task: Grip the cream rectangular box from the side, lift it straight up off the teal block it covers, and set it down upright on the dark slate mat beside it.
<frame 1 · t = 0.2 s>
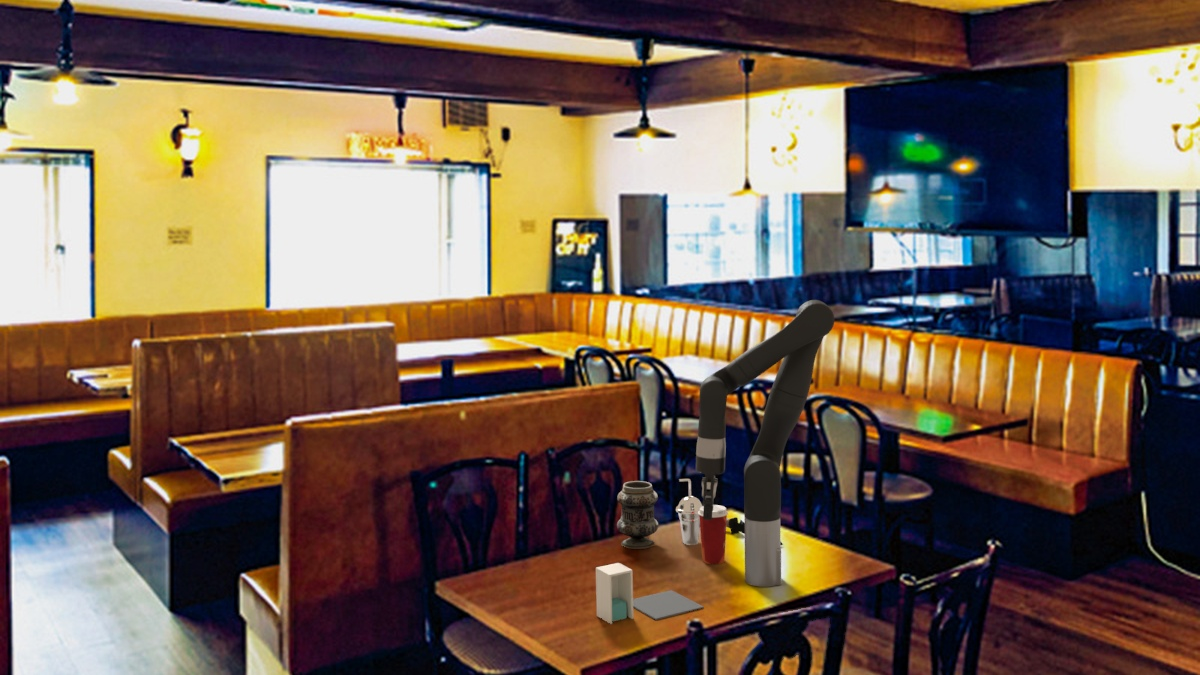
hand: (708, 515, 281), 18 cm above the table, tool pointing down, fingers open, 8 cm apart
mat: (663, 605, 266), on the table
drinking straw: (689, 543, 315), on the table
cream rectangular box: (615, 617, 259), on the table
block: (614, 609, 259), in the cream rectangular box
apothecary jar: (638, 545, 315), on the table
coffee cup: (713, 561, 299), on the table
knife: (742, 536, 321), on the table
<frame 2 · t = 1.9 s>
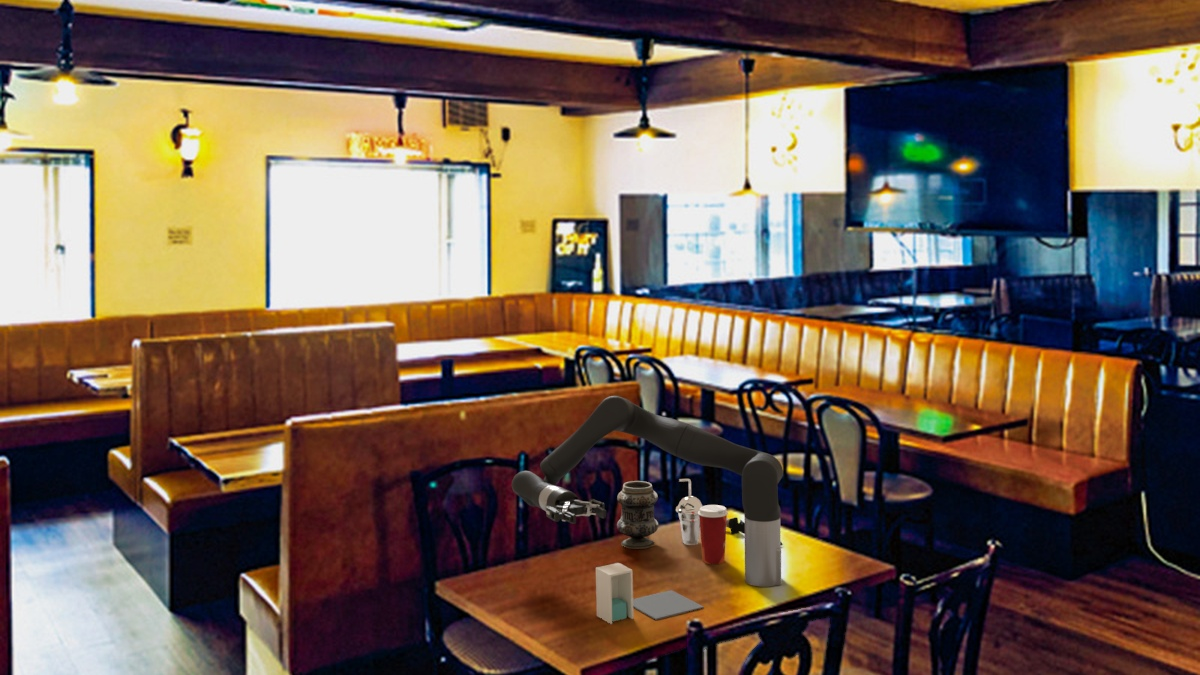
hand: (589, 517, 266), 22 cm above the table, tool horizontal, fingers open, 8 cm apart
nothing on the table moved.
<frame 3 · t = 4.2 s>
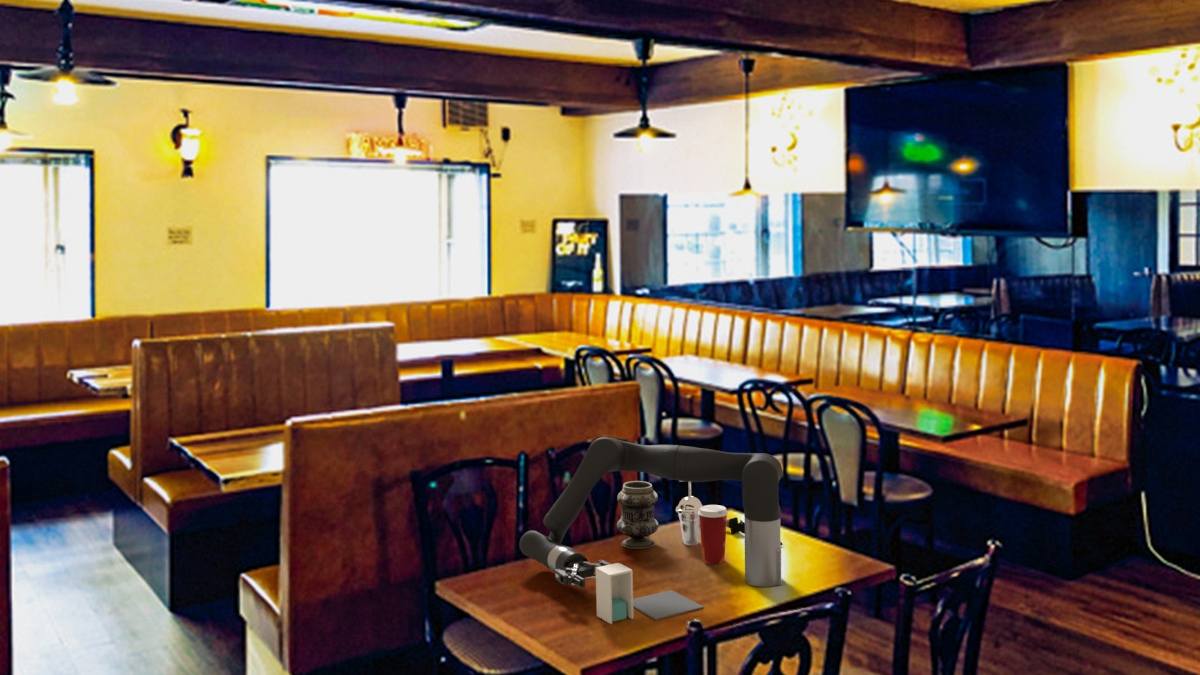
hand: (599, 580, 265), 7 cm above the table, tool horizontal, fingers open, 8 cm apart
nothing on the table moved.
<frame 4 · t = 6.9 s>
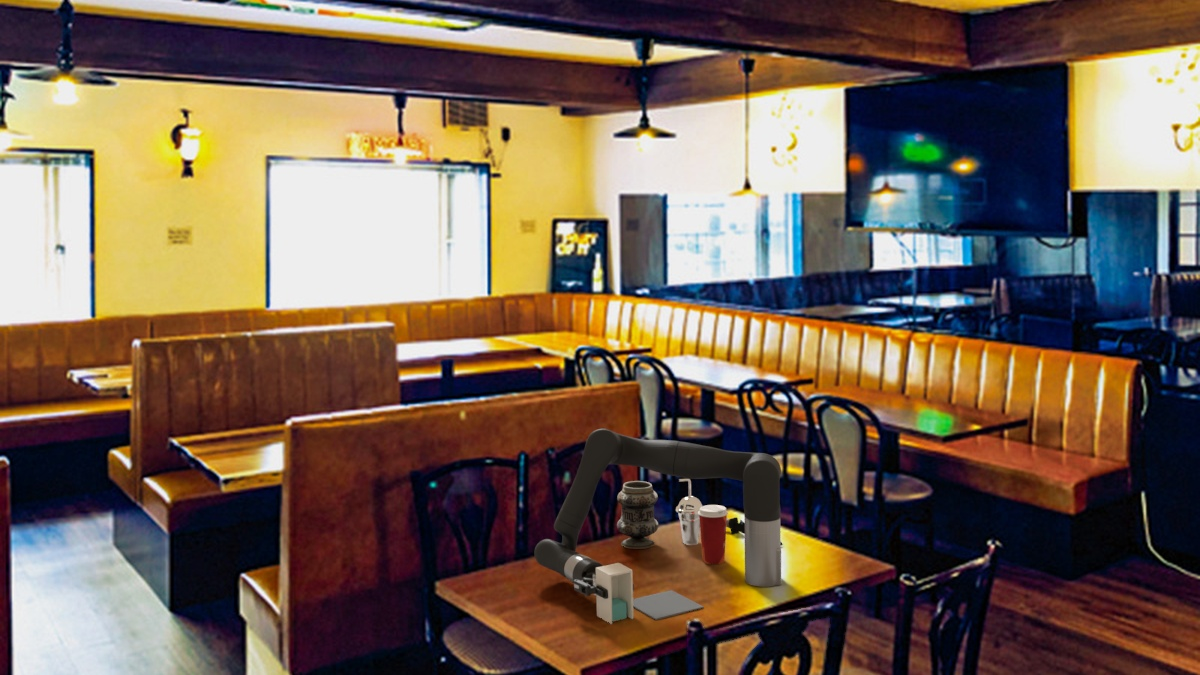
hand: (619, 591, 256), 7 cm above the table, tool horizontal, fingers closed on cream rectangular box, 6 cm apart
cream rectangular box: (615, 617, 259), on the table, touching gripper
everything else where it was.
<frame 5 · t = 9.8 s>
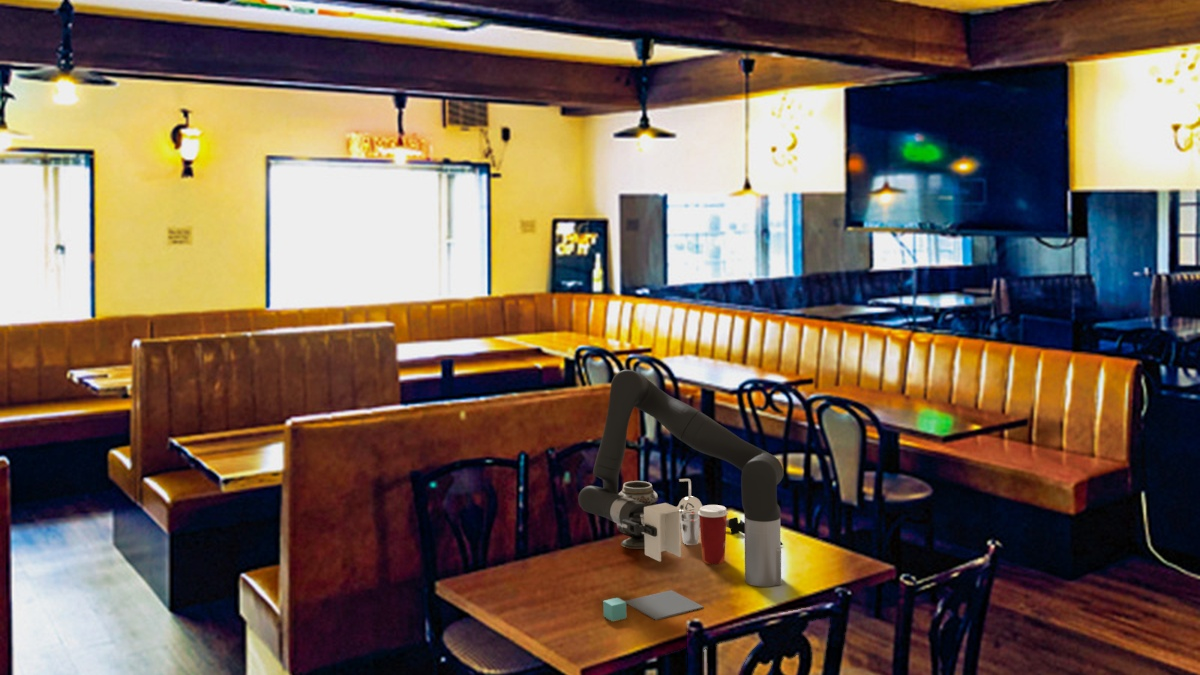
hand: (667, 529, 261), 20 cm above the table, tool horizontal, fingers closed on cream rectangular box, 6 cm apart
cream rectangular box: (662, 555, 264), point 13 cm above the table, touching gripper
everything else where it was.
when the fingers open (9 cm above the table, at t = 12.9 s): cream rectangular box drops 1 cm, resting on mat.
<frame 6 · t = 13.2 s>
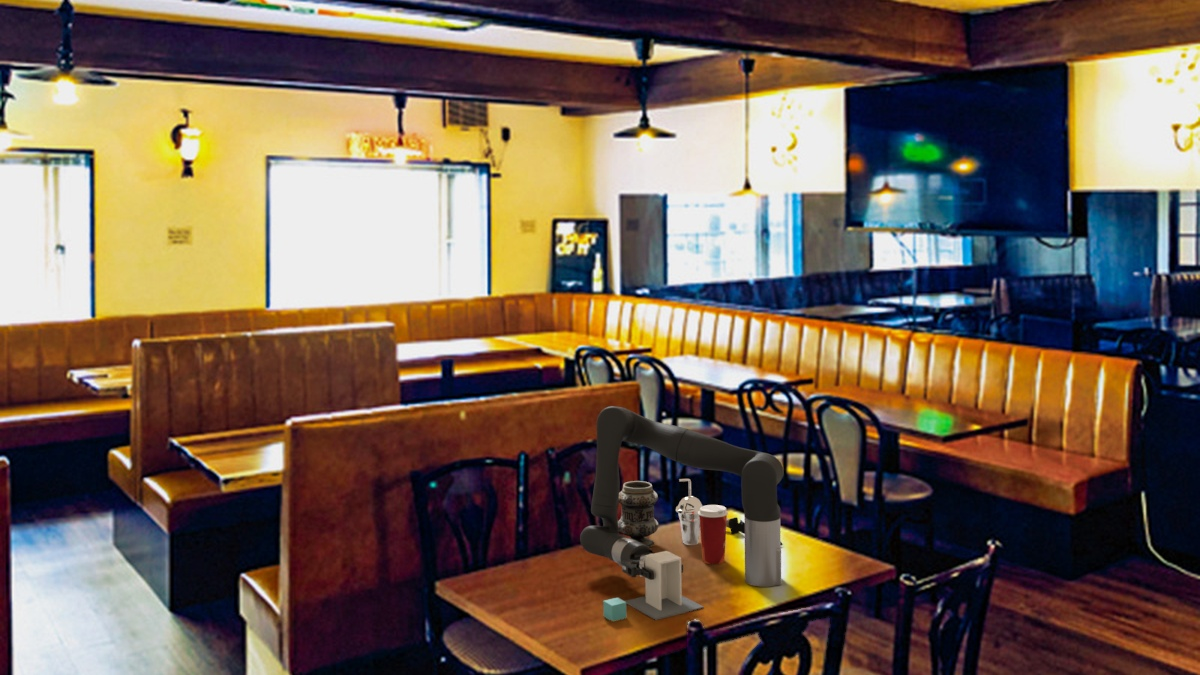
hand: (667, 572, 263), 9 cm above the table, tool horizontal, fingers open, 8 cm apart
cream rectangular box: (663, 603, 266), resting on mat
everything else where it was.
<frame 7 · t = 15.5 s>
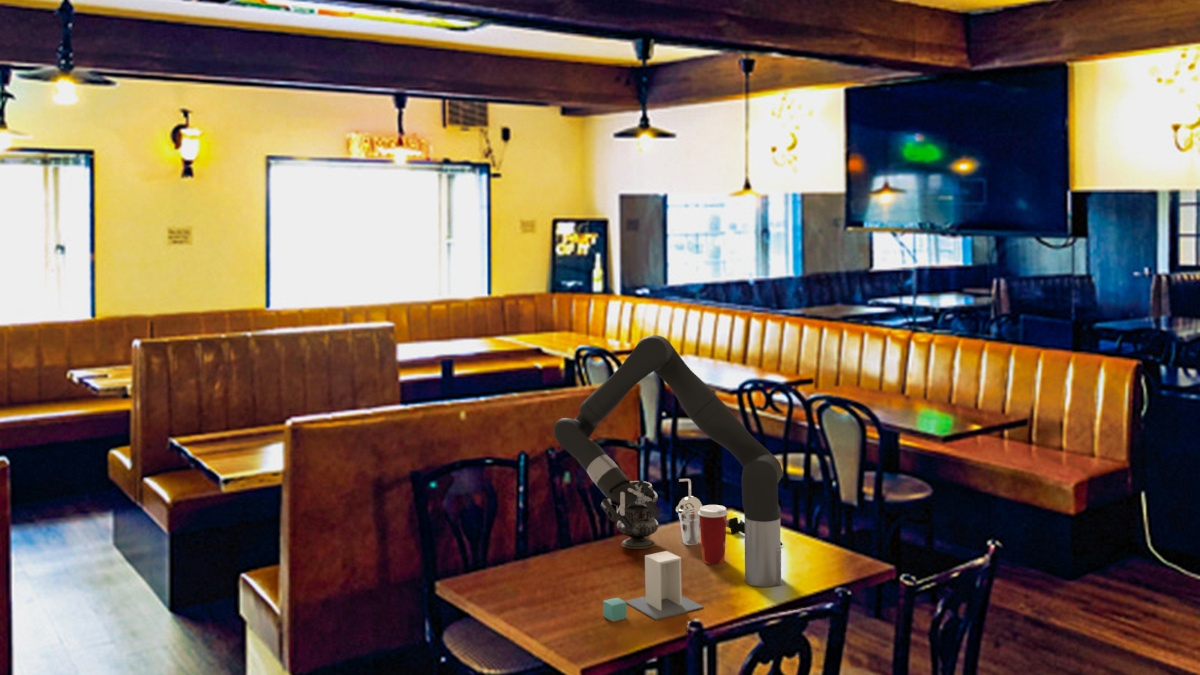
hand: (645, 521, 277), 17 cm above the table, tool tilted 50°, fingers open, 8 cm apart
nothing on the table moved.
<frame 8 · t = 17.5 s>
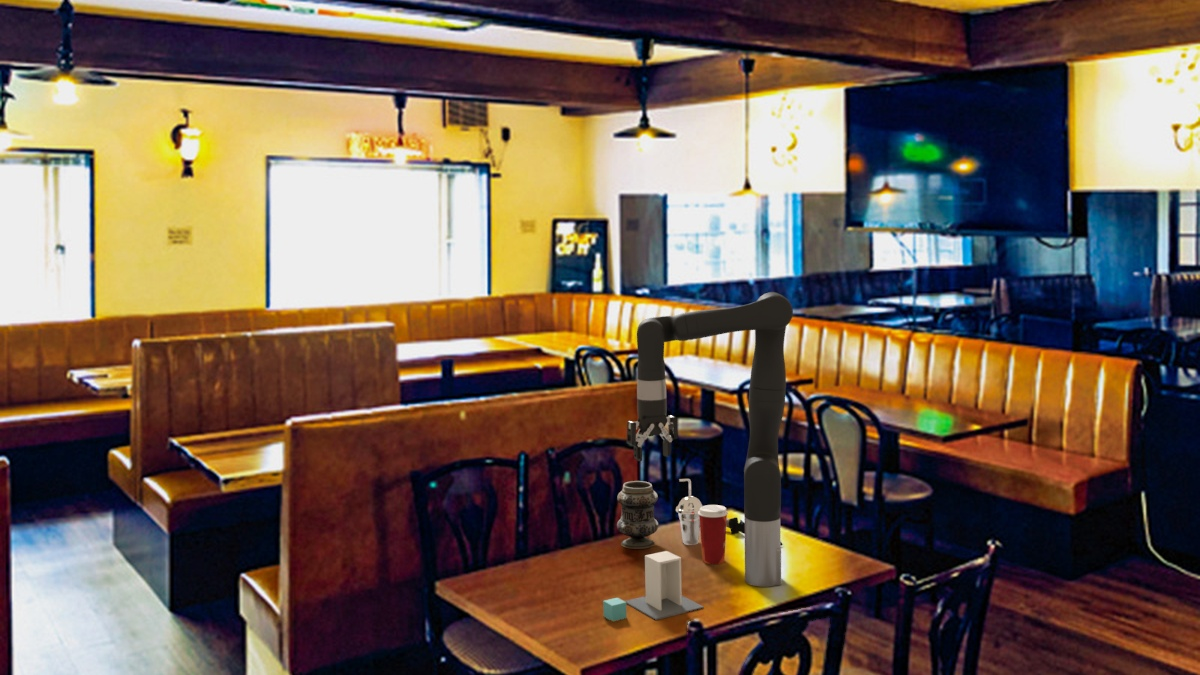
hand: (652, 458, 279), 33 cm above the table, tool pointing down, fingers open, 8 cm apart
nothing on the table moved.
at the end: cream rectangular box inside the target area on the mat (0.0 cm from its centre), point 0.4 cm above the mat's base; cream rectangular box tilted 0°; block moved 0.1 cm from its start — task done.
